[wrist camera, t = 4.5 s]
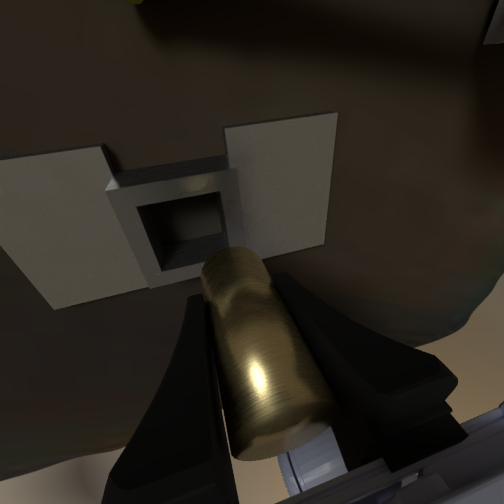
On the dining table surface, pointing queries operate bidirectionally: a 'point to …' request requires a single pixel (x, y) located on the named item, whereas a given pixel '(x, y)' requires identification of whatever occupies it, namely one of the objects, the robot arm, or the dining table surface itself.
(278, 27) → the dining table surface
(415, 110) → the dining table surface
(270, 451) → the hinge pin
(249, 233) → the hinge base
